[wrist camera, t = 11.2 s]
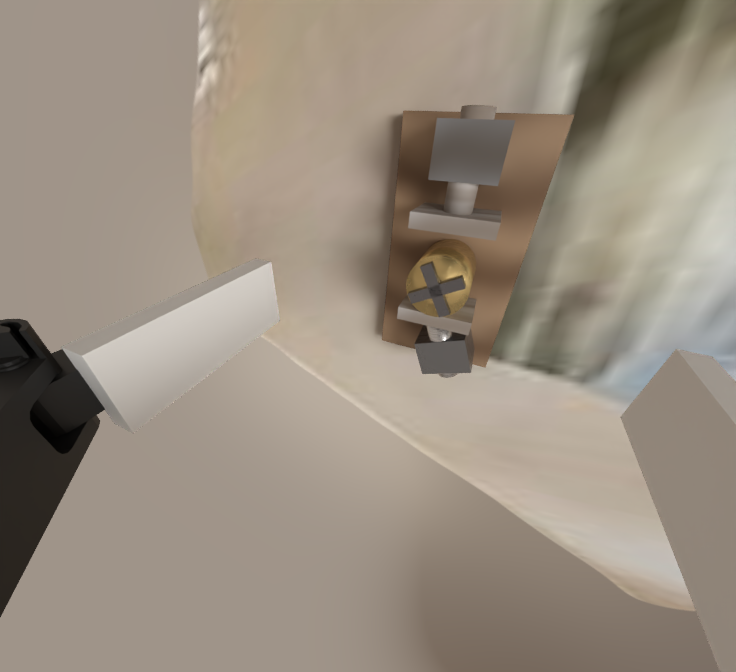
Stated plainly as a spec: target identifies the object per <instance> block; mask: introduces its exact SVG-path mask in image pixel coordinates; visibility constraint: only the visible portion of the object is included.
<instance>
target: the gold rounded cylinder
mask: <svg viewBox="0 0 736 672" xmlns="http://www.w3.org/2000/svg"><path fill="white" fill-rule="evenodd" d="M475 270H476V258H475V255H474V253H473V251H472V250H471V248H470V247H469V246H468V245H466V244H465V243H463V242H462V241H459V240H455V239H444V240H441V241H438V242H436V243H435V244H433V245H432V246H431V247H430V248H429V249H428V250H427V251H426V252H425V254H424V255H423V256H422V257H421V259H420V260H419V261H418V262H417V264H416V265H415V266H414V267H413V268H412V270H411V271H410V273H409V275H408V277H407V281H406V291H407V295H408V298H409V300H410V302H411V304H413V306H414V307H415V308H416V309H417V310H419V311H420V312H422V313H424V314H426V315H429V316H433V317H445V316H449V315H452V314H454V313H456V312H457V311H459V310H460V309H461V308H462V307H463V306H464V304H465V303H466V301H467V299H468V297H469V293H470V289H471V286H472V282H473V278H474V274H475Z"/></svg>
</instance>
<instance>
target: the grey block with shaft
mask: <svg viewBox="0 0 736 672" xmlns="http://www.w3.org/2000/svg"><path fill="white" fill-rule="evenodd" d="M414 345H415V349H416V352H417V356H418V360H419V363H420V367H421V371H422V374H439V375H440V376H441V377H445V378H448V377H453V376H455V375H457V374H458V373H471V369H472V363H473V357H474V350H475V349H474V343H473V337H472V332H471V328H470V332H469V335H464V334H460V333H456V332H451V331H447V330H443V329H439V328H435V327H430V326H426V325H423V327H422V329H421V331H420V333H419V335H418V337H417V339H416V341H415V344H414Z"/></svg>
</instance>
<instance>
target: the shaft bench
mask: <svg viewBox="0 0 736 672" xmlns="http://www.w3.org/2000/svg"><path fill="white" fill-rule="evenodd" d="M496 109H497V107H493V106H485V105H467V106H462V109H461V112H437V111H403V121H402V132H401V142H400V153H399V164H398V174H397V185H396V195H395V206H394V217H393V227H392V238H391V248H390V259H389V270H388V280H387V291H386V301H385V312H384V322H383V333H382V340H383V341H387V342H391V343H395V344H398V345H402V346H406V347H410V348H414V349H415V345H414V344H415V341H416V339H417V337H418V335H419V333H420V331H421V329H422V327H423V325H426V326H430V327H435V328H439V329H443V330H447V331H451V332H456V333H460V334H464V335H469V332H470V328H471V332H472V337H473V343H474V349H475V350H474V357H473V363H472V364H474V365H478V366H482V367H486V364H487V361H488V359H489V356H490V353H491V350H492V347H493V344H494V341H495V339H496V336H497V333H498V330H499V327H500V324H501V322H502V319H503V316H504V313H505V310H506V307H507V305H508V302H509V299H510V296H511V293H512V290H513V287H514V285H515V282H516V279H517V276H518V273H519V270H520V268H521V265H522V262H523V259H524V256H525V253H526V251H527V248H528V245H529V242H530V239H531V236H532V233H533V231H534V228H535V225H536V222H537V219H538V216H539V214H540V211H541V208H542V205H543V202H544V199H545V197H546V194H547V191H548V188H549V185H550V182H551V179H552V177H553V174H554V171H555V168H556V165H557V162H558V160H559V157H560V154H561V151H562V148H563V145H564V142H565V140H566V137H567V134H568V131H569V128H570V125H571V123H572V120H573V117H574V115H559V114H518V113H496ZM444 239H455V240H459V241H462V242H463V243H465V244H466V245H468V246H469V247H470V248H471V250H472V251H473V253H474V255H475V258H476V270H475V274H474V278H473V282H472V286H471V289H470V293H469V297H468V299H467V301H466V303H465V304H464V306H463V307H462V308H461V309H460V310H459V311H457V312H456V313H454V314H452V315H449V316H445V317H433V316H429V315H426V314H424V313H422V312H420V311H419V310H417V309H416V308H415V307H414V306H413V304H411V302H410V300H409V298H408V295H407V291H406V281H407V277H408V275H409V273H410V271H411V270H412V268H413V267H414V266H415V265H416V264H417V262H418V261H419V260H420V259H421V257H422V256H423V255H424V254H425V252H426V251H427V250H428V249H429V248H430V247H431V246H432V245H433V244H435V243H436V242H438V241H441V240H444Z"/></svg>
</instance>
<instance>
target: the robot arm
mask: <svg viewBox="0 0 736 672" xmlns="http://www.w3.org/2000/svg"><path fill="white" fill-rule="evenodd" d="M279 321H280V317H279V310H278V303H277V297H276V290H275V284H274V277H273V270H272V264H271V262H270V261H266V260H261V259H256V258H255V259H253V260H251V261H249V262H247V263H244V264H242V265H240V266H238V267H235V268H233V269H231V270H229V271H227V272H224V273H222V274H220V275H218V276H216V277H213V278H211V279H209V280H207V281H205V282H202V283H201V284H198V285H196V286H194V287H191V288H190V289H187V290H185V291H183V292H181V293H178V294H176V295H174V296H172V297H170V298H167V299H165V300H163V301H161V302H158V303H156V304H154V305H152V306H150V307H147V308H145V309H143V310H141V311H139V312H136V313H134V314H132V315H130V316H128V317H125V318H123V319H121V320H119V321H117V322H114V323H112V324H110V325H108V326H106V327H104V328H101V329H99V330H97V331H95V332H92V333H90V334H88V335H86V336H84V337H81V338H79V339H77V340H75V341H73V342H70V343H68V344H66V345H64V346H62V347H61V348H62V350H59V351H57V352H54V353H52V354H51V353H50V351H49V350H48V349H47V347H46V346H45V345H44V343H43V342H42V341H41V339H40V338H39V336H38V335H37V334H36V332H35V331H34V330H33V328H32V327H31V325H30V324H29V323H28V322H27V321H26V320H21V319H5V320H0V617H1V615H2V613H3V611H4V609H5V607H6V605H7V603H8V601H9V599H10V598H11V596H12V594H13V592H14V590H15V588H16V586H17V584H18V582H19V580H20V578H21V576H22V574H23V572H24V571H25V569H26V567H27V565H28V563H29V561H30V559H31V557H32V555H33V553H34V551H35V549H36V547H37V545H38V543H39V542H40V540H41V538H42V536H43V534H44V532H45V530H46V528H47V526H48V524H49V522H50V520H51V518H52V516H53V515H54V512H55V510H56V509H57V507H58V505H59V503H60V501H61V499H62V497H63V495H64V493H65V491H66V489H67V487H68V486H69V483H70V482H71V480H72V478H73V476H74V474H75V472H76V470H77V468H78V466H79V464H80V462H81V460H82V459H83V457H84V454H85V453H86V451H87V449H88V447H89V445H90V443H91V441H92V439H93V437H94V435H95V433H96V431H97V429H98V427H99V424H100V420H99V418H98V417H97V414H99V413H100V412H102V411H103V410H105V411H106V412H107V414H108V415H109V416H110V418H111V419H112V421H113V422H114V423H115V424H116V425H118V426H120V427H122V428H124V429H126V430H128V431H130V432H132V433H134V432H136V431H137V430H138V429H139V428H141V427H142V426H143V425H145V424H146V423H147V422H148V421H150V420H151V419H152V418H154V417H155V416H156V415H158V414H159V413H160V412H161V411H163V410H164V409H165V408H167V407H168V406H169V405H171V404H172V403H173V402H175V401H176V400H177V399H179V398H180V397H181V396H182V395H184V394H185V393H186V392H188V391H189V390H190V389H192V388H193V387H194V386H195V385H197V384H198V383H199V382H201V381H202V380H203V379H204V378H206V377H207V376H208V375H210V374H211V373H212V372H214V371H215V370H216V369H217V368H219V367H220V366H221V365H223V364H224V363H225V362H227V361H228V360H229V359H231V358H232V357H233V356H234V355H236V354H237V353H238V352H240V351H241V350H242V349H243V348H245V347H246V346H247V345H249V344H250V343H251V342H253V341H254V340H255V339H257V338H258V337H259V336H260V335H262V334H263V333H264V332H266V331H267V330H268V329H270V328H271V327H272V326H274V325H275V324H276V323H277V322H279ZM621 419H622V422H623V425H624V427H625V430H626V432H627V435H628V437H629V440H630V443H631V445H632V448H633V450H634V453H635V455H636V458H637V460H638V463H639V466H640V468H641V471H642V473H643V476H644V478H645V481H646V484H647V486H648V489H649V491H650V494H651V496H652V499H653V501H654V504H655V507H656V509H657V512H658V514H659V517H660V519H661V522H662V525H663V527H664V530H665V532H666V535H667V537H668V540H669V542H670V545H671V548H672V550H673V553H674V555H675V558H676V560H677V563H678V566H679V568H680V571H681V573H682V576H683V578H684V581H685V584H686V586H687V589H688V591H689V594H690V596H691V599H692V601H693V604H694V607H695V609H696V612H697V614H698V617H699V619H700V622H701V625H702V627H703V629H704V632H705V635H706V637H707V640H708V642H709V645H710V648H711V650H712V652H713V655H714V658H715V660H716V663H717V665H718V668H719V671H720V672H736V382H735V381H734V379H733V378H732V377H731V376H730V375H729V374H728V373H727V372H726V371H725V370H724V369H723V368H722V366H721V365H720V364H719V363H718V362H717V361H716V360H715V359H714V358H713V357H711V356H707V355H702V354H697V353H693V352H688V351H684V350H679V349H676V350H675V351H674V352H673V353H672V355H671V356H670V357H669V358H668V360H667V361H666V362H665V363H664V364H663V366H662V367H661V368H660V369H659V371H658V372H657V373H656V374H655V375H654V377H653V378H652V379H651V380H650V382H649V383H648V384H647V385H646V386H645V388H644V389H643V390H642V391H641V393H640V394H639V395H638V396H637V397H636V399H635V400H634V401H633V402H632V404H631V405H630V406H629V407H628V409H627V410H626V411H625V412H624V413H623V415H622V416H621Z"/></svg>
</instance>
